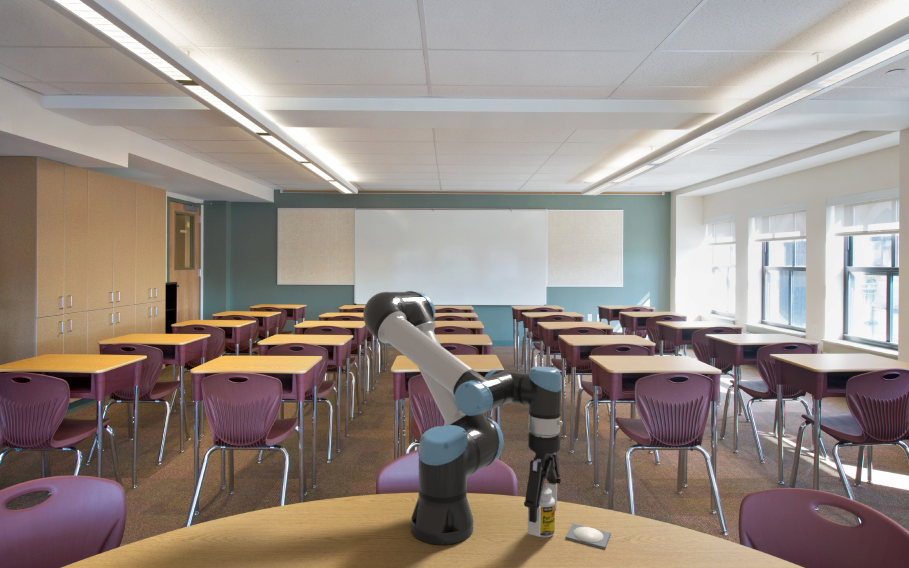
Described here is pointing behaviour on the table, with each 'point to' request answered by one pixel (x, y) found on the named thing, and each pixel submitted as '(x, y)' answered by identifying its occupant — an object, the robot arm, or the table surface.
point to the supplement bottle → (547, 513)
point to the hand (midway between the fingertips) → (542, 521)
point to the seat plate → (588, 536)
